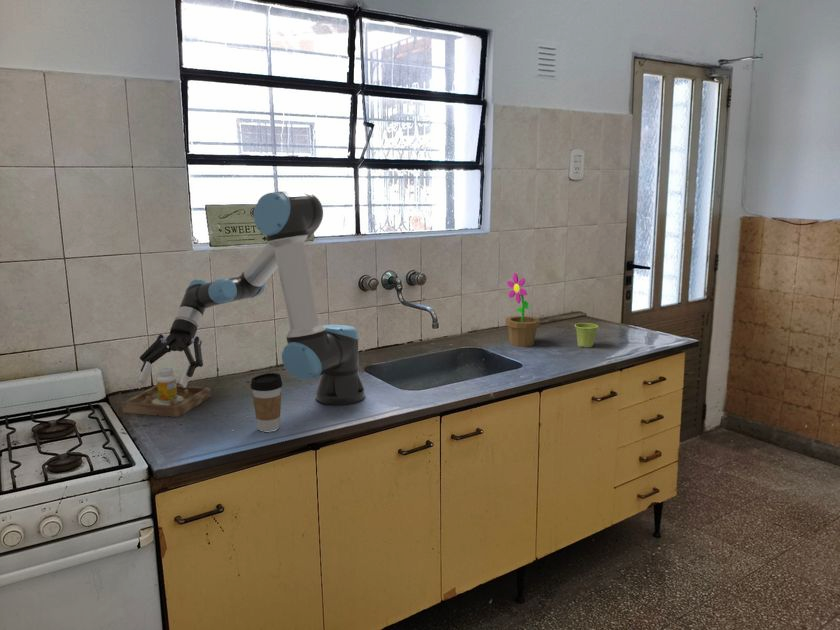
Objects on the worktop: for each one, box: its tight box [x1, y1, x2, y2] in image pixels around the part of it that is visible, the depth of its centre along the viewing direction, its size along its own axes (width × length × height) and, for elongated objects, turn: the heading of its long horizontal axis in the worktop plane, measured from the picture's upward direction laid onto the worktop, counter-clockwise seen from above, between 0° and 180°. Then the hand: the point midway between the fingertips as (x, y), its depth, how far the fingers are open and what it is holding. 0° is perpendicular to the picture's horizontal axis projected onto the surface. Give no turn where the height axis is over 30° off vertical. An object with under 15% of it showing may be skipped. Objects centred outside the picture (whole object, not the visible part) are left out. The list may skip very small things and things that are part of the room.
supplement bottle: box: [156, 367, 177, 403], centre depth 195 cm, size 5×5×10 cm
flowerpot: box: [505, 272, 541, 348], centre depth 265 cm, size 14×14×30 cm
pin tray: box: [121, 384, 211, 418], centre depth 196 cm, size 18×18×4 cm
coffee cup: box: [250, 372, 283, 431], centre depth 177 cm, size 8×8×15 cm
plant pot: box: [574, 322, 599, 349], centre depth 264 cm, size 9×9×9 cm
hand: (161, 384), depth 193 cm, fingers open, 13 cm apart
